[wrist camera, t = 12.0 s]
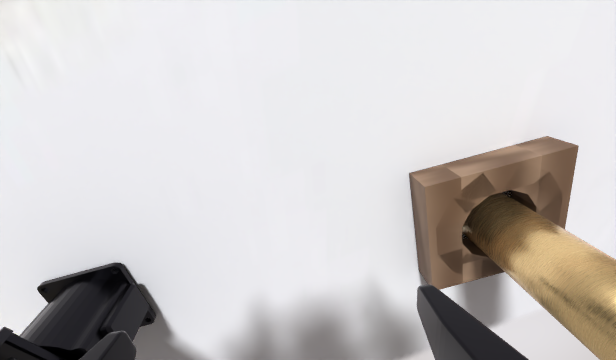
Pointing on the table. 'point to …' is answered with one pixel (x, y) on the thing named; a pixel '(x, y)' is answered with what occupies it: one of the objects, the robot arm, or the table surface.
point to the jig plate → (477, 187)
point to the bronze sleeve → (551, 268)
